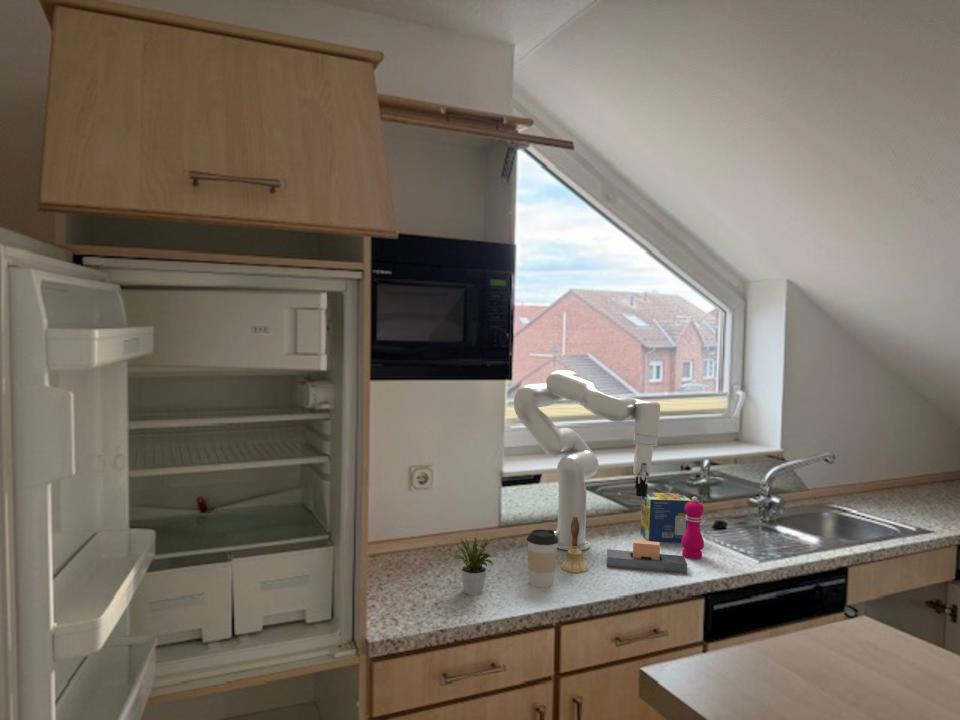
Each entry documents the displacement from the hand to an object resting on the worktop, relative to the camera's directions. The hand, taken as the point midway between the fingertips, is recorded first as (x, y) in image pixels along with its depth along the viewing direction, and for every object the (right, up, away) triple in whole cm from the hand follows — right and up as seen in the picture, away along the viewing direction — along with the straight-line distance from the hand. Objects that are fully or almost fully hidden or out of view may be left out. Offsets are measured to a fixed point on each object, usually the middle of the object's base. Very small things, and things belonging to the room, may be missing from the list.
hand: (640, 492), depth 209 cm
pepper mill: (+19, -23, +8) cm, 31 cm away
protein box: (+15, -22, +27) cm, 38 cm away
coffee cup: (-34, -22, -20) cm, 45 cm away
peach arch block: (+1, -23, -3) cm, 23 cm away
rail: (+1, -23, -3) cm, 23 cm away
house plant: (-55, -22, -29) cm, 65 cm away
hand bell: (-22, -22, -7) cm, 32 cm away
